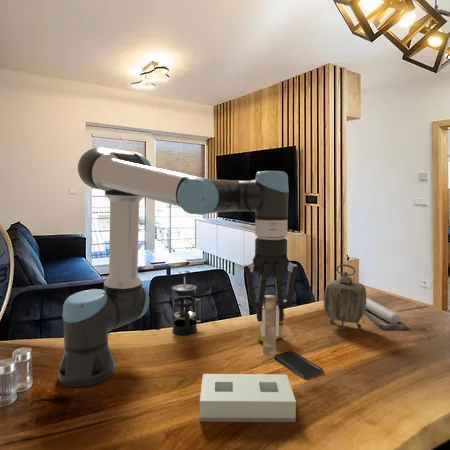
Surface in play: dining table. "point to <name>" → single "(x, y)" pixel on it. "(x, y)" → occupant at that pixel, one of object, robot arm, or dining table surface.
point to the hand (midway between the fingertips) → (269, 333)
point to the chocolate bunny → (260, 337)
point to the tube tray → (385, 326)
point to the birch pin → (270, 325)
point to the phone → (298, 364)
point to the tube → (382, 312)
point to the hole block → (247, 398)
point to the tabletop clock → (345, 299)
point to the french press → (185, 309)
